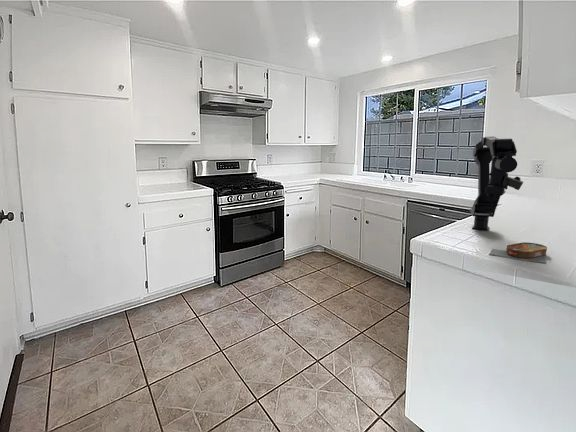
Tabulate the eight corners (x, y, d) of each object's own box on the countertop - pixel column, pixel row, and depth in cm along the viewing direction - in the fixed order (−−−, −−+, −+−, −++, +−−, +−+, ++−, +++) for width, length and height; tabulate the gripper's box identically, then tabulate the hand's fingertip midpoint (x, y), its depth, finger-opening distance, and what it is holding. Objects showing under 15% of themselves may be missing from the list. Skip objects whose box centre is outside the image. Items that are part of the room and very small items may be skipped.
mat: (491, 249, 123) (492, 248, 123) (545, 257, 114) (545, 256, 114) (489, 254, 117) (489, 254, 117) (545, 263, 108) (545, 262, 108)
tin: (528, 241, 123) (553, 245, 115) (527, 249, 123) (552, 254, 115) (500, 246, 117) (525, 251, 110) (500, 254, 118) (524, 260, 110)
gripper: (522, 172, 119) (516, 214, 122) (524, 169, 133) (519, 206, 137) (487, 171, 126) (482, 211, 129) (492, 168, 140) (488, 204, 143)
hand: (494, 208), depth 134 cm, fingers closed
